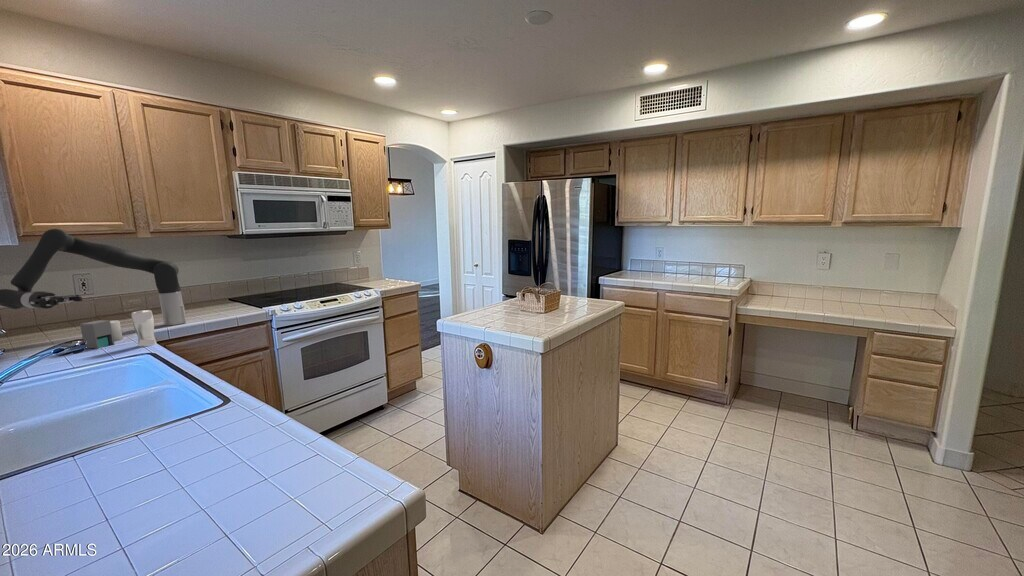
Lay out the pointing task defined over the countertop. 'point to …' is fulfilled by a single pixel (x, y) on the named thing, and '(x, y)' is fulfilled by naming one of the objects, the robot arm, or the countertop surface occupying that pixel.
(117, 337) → the toilet tissue
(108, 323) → the cover
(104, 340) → the block
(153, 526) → the countertop surface
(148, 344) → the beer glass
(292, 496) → the countertop surface
